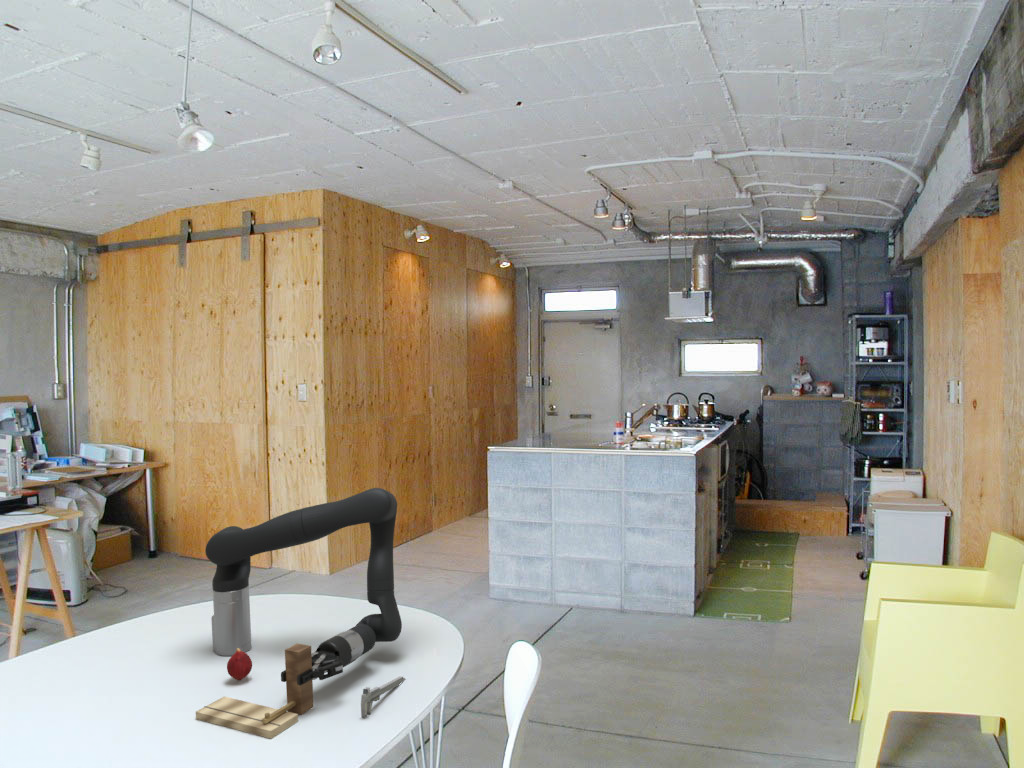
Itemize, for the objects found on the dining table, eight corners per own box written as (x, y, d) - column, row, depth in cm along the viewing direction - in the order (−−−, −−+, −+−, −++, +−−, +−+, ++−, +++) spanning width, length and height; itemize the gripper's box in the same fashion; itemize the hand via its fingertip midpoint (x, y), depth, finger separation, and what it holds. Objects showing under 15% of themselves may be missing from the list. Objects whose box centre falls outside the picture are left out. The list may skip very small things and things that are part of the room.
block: (257, 730, 159) (254, 665, 159) (299, 703, 171) (297, 643, 170) (271, 734, 158) (268, 668, 157) (313, 707, 169) (311, 645, 169)
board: (196, 718, 165) (195, 711, 165) (224, 703, 173) (224, 696, 172) (271, 738, 156) (270, 730, 156) (298, 721, 163) (297, 713, 163)
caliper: (365, 720, 163) (364, 691, 163) (361, 719, 163) (360, 691, 163) (405, 680, 183) (404, 654, 182) (401, 679, 183) (400, 654, 183)
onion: (257, 677, 186) (256, 645, 186) (242, 687, 181) (240, 654, 181) (238, 674, 188) (236, 643, 188) (222, 684, 183) (221, 651, 182)
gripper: (316, 631, 184) (265, 657, 168) (363, 639, 178) (314, 667, 162) (318, 661, 184) (266, 690, 169) (365, 670, 178) (316, 701, 162)
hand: (290, 679), depth 166 cm, fingers closed on block, 4 cm apart
